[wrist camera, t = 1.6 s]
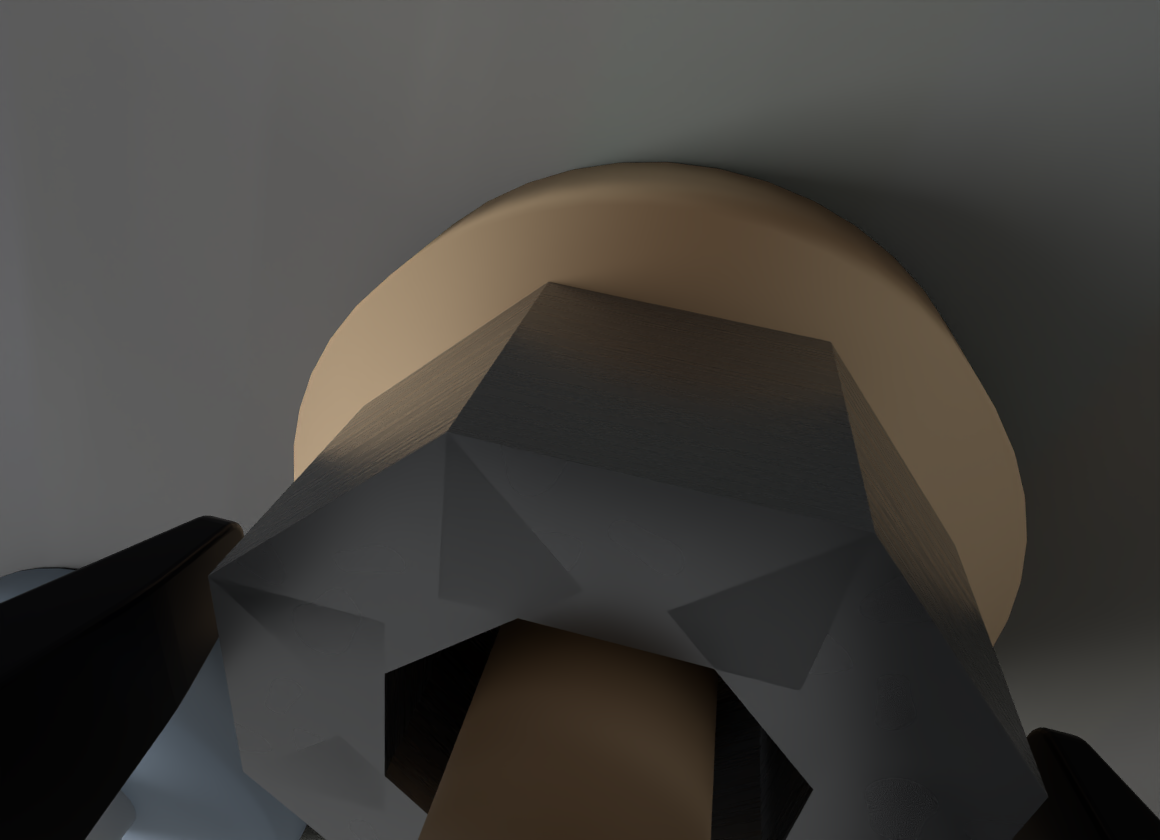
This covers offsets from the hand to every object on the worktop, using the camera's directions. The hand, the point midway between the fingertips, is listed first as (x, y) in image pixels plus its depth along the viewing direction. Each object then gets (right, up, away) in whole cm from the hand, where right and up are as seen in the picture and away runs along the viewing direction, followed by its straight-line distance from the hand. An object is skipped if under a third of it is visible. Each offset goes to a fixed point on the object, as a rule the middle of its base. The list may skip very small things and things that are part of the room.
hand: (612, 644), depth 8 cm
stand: (+1, +2, +3) cm, 3 cm away
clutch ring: (0, +1, +1) cm, 1 cm away
